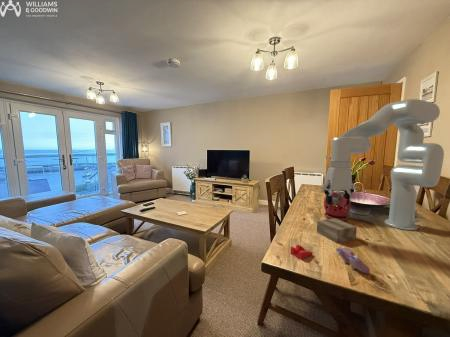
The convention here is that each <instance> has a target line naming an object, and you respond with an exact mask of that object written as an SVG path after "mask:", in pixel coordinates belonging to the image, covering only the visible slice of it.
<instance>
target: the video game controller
mask: <svg viewBox="0 0 450 337" xmlns="http://www.w3.org/2000/svg"><path fill="white" fill-rule="evenodd" d="M335 249H336V254H337V256H340V257H341V258H342V260H343V262H345V263H346V264H349V266H350V268H351V269H353V270H356V269H357V270H358V271H359V272H361V273H364V274H369V273H370V271H371V269H370V268H369V266H368V265H367V264H365V263H364V262H363V261H362V259H361V258H359V257H358V255H356V254H355V253H354V251H353V250H351V249H350V248H347V247H345V246H344V245H342V246H338V247H337V248H335Z"/></svg>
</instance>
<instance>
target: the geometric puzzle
mask: <svg viewBox="0 0 450 337" xmlns="http://www.w3.org/2000/svg"><path fill="white" fill-rule="evenodd" d="M343 194H344V191H342V192H340V193H338V194H337V193H336V192H335V191H334V192H333V193H332V195H331V196H332V201H333V202H334V205H332V206H333V207H334V206H337V205H340V206H342V207H344V205H345V204H346V202H347V200H348V199H346V198H344V197H343Z"/></svg>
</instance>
